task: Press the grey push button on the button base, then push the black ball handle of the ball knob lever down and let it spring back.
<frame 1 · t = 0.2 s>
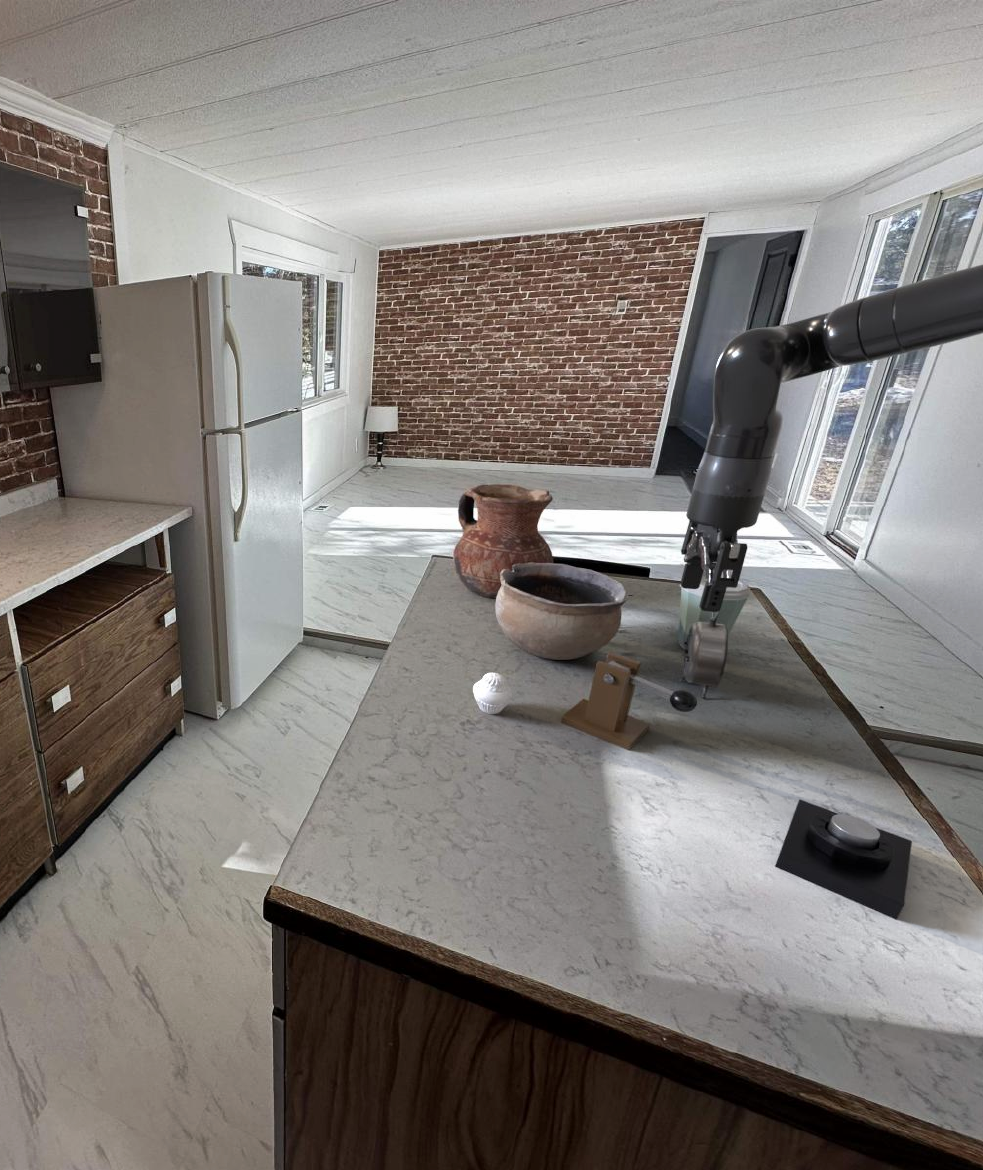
hand: (698, 598, 89), 23 cm above the counter, tool pointing down, fingers open, 8 cm apart
button base: (840, 860, 74), on the counter
disposable coffee cup: (697, 649, 122), on the counter
grey push button: (853, 832, 73), point 4 cm above the counter, slide at 0.1 cm
alarm clock: (693, 686, 110), on the counter
jug: (497, 590, 153), on the counter
ceramic bowl: (548, 650, 125), on the counter
muffin: (489, 710, 107), on the counter
ball knob lever: (649, 686, 94), point 10 cm above the counter, hinge at -6.1°
lever bracket: (604, 726, 101), on the counter
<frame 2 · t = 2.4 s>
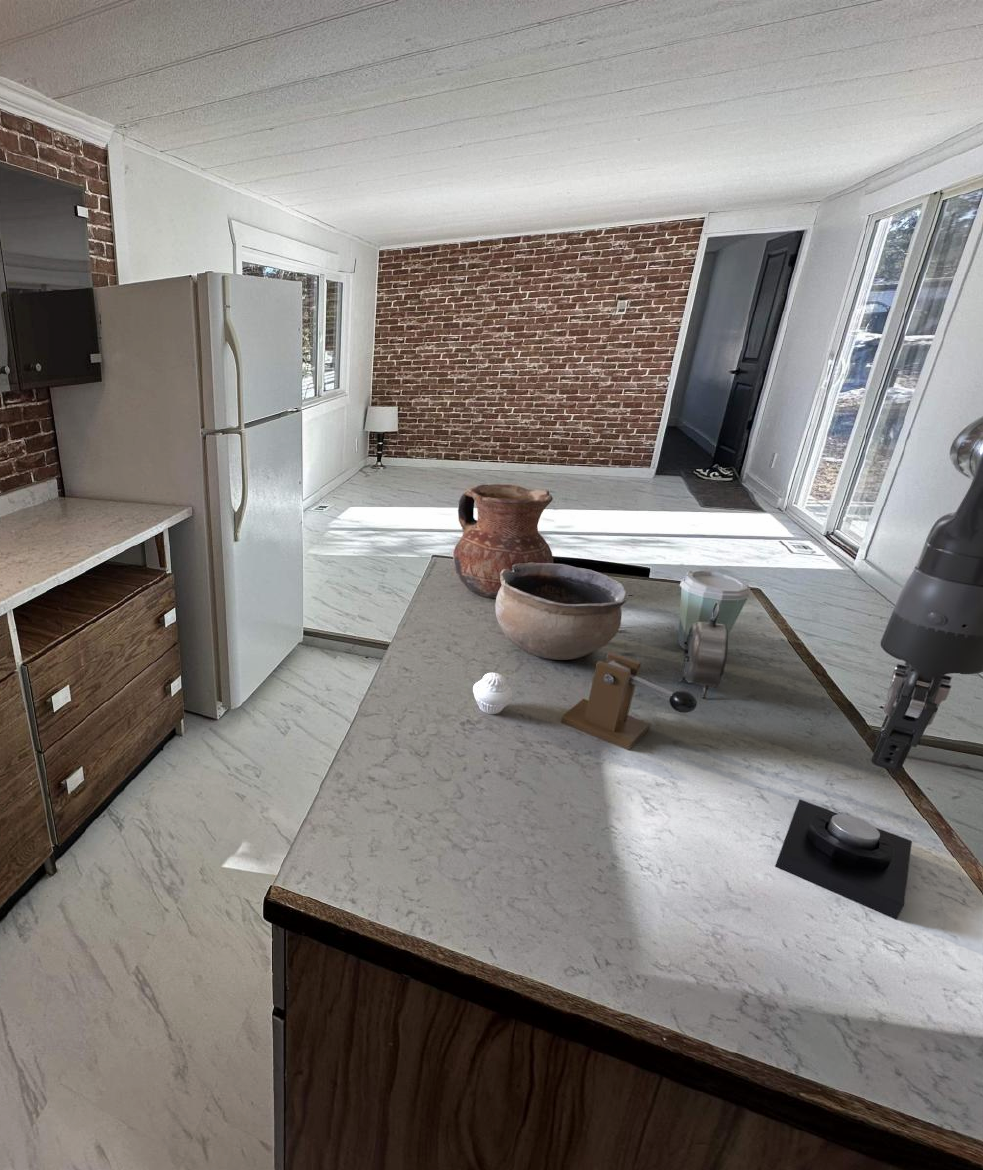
hand: (886, 756, 69), 15 cm above the counter, tool pointing down, fingers open, 4 cm apart
ball knob lever: (649, 686, 94), point 9 cm above the counter, hinge at -7.0°
everything else where it was.
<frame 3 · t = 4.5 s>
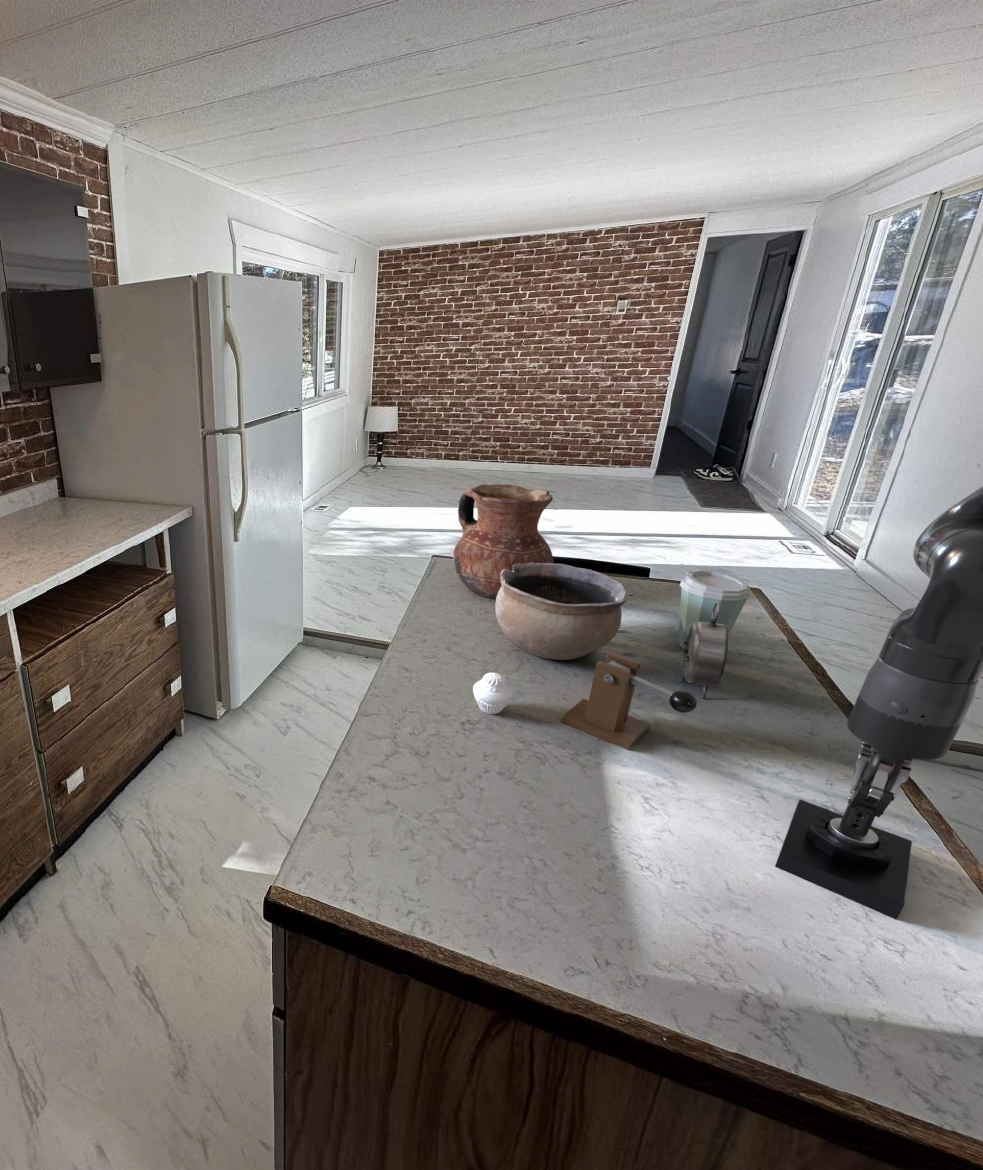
hand: (852, 829, 73), 5 cm above the counter, tool pointing down, fingers closed
grey push button: (851, 835, 73), point 4 cm above the counter, slide at -0.5 cm, touching gripper
everything else where it was.
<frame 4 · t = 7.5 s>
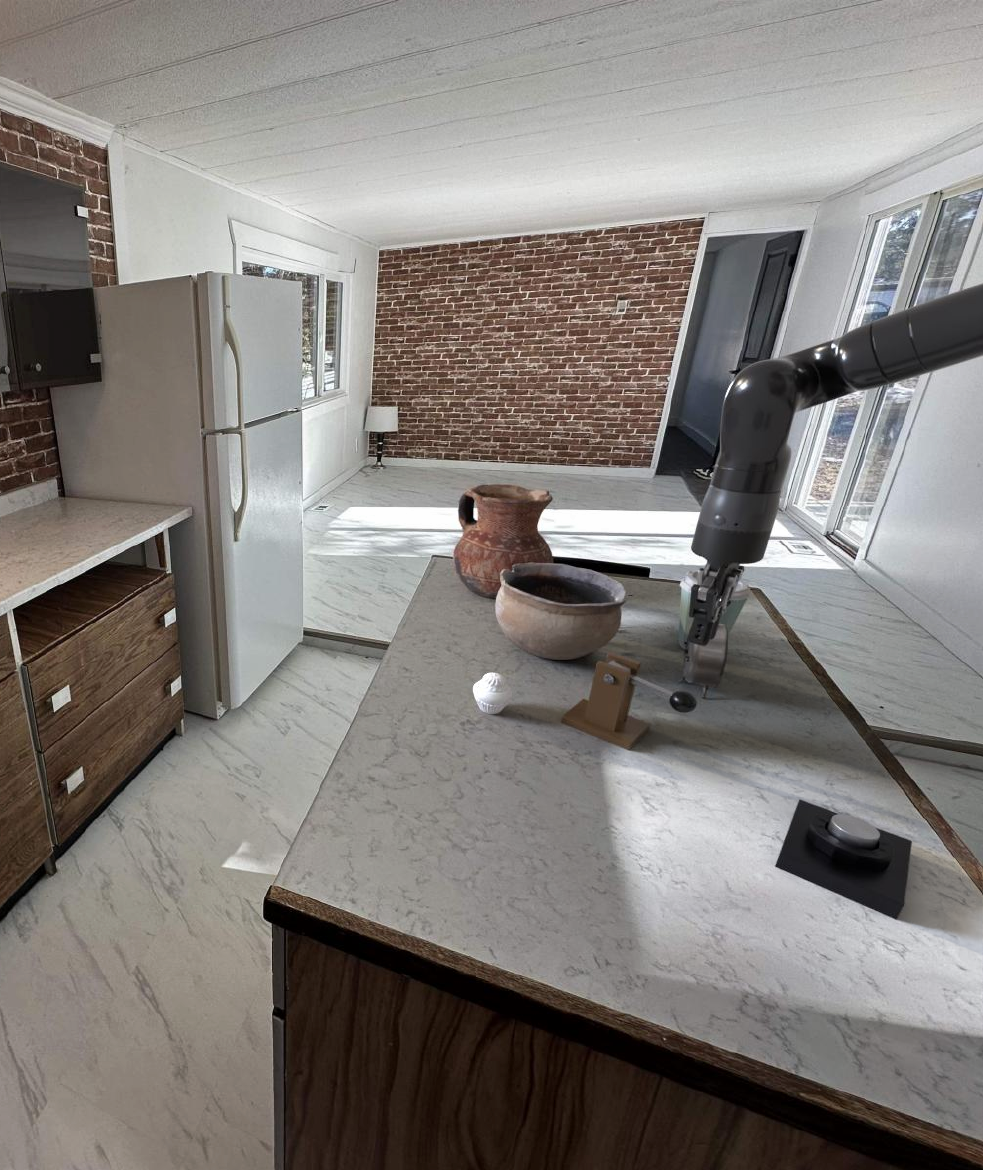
hand: (701, 639, 87), 19 cm above the counter, tool pointing down, fingers closed
grey push button: (853, 832, 73), point 4 cm above the counter, slide at 0.1 cm
everything else where it was.
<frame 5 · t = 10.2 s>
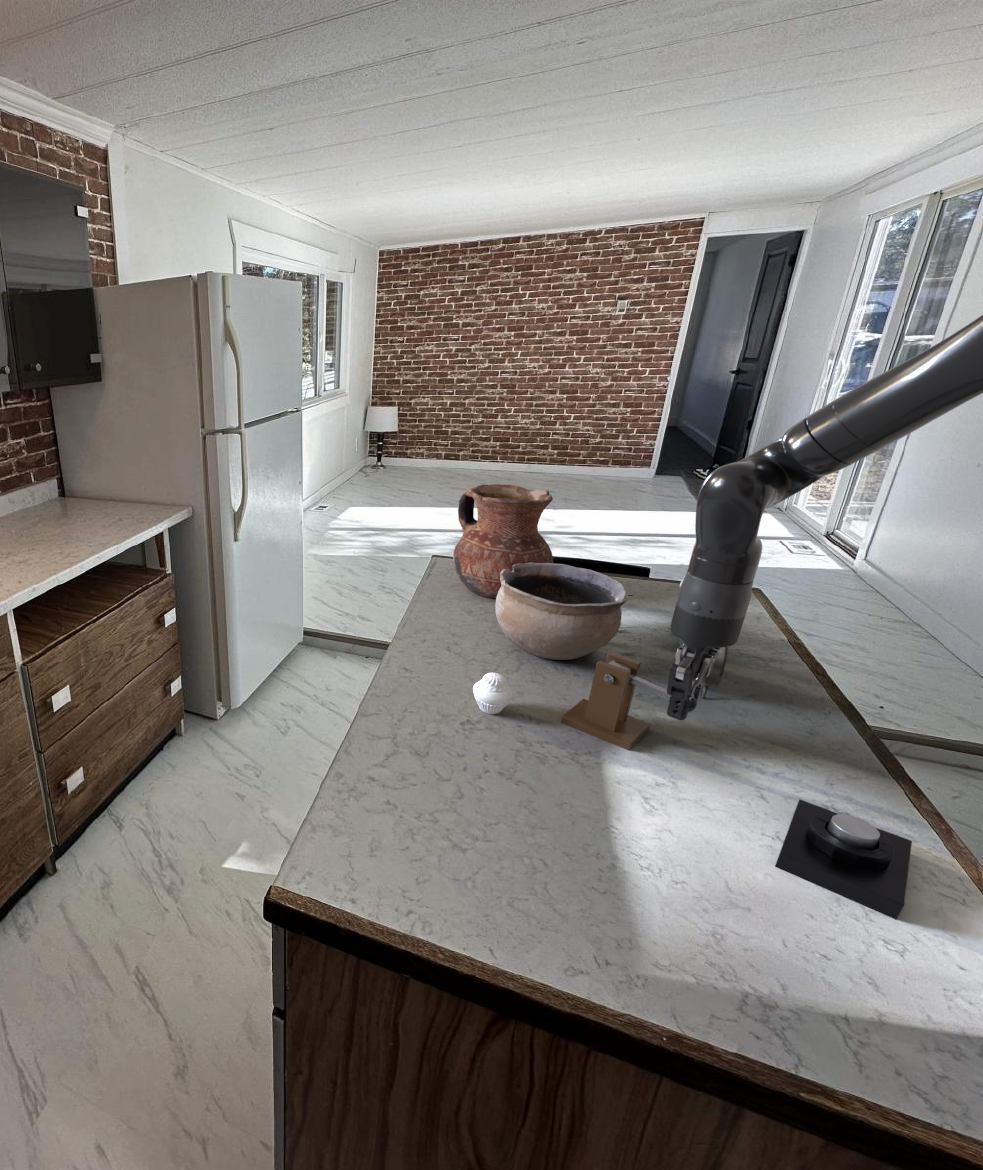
hand: (680, 711, 91), 7 cm above the counter, tool pointing down, fingers closed on ball knob lever, 3 cm apart
ball knob lever: (649, 686, 94), point 9 cm above the counter, hinge at -7.1°, touching gripper
everything else where it was.
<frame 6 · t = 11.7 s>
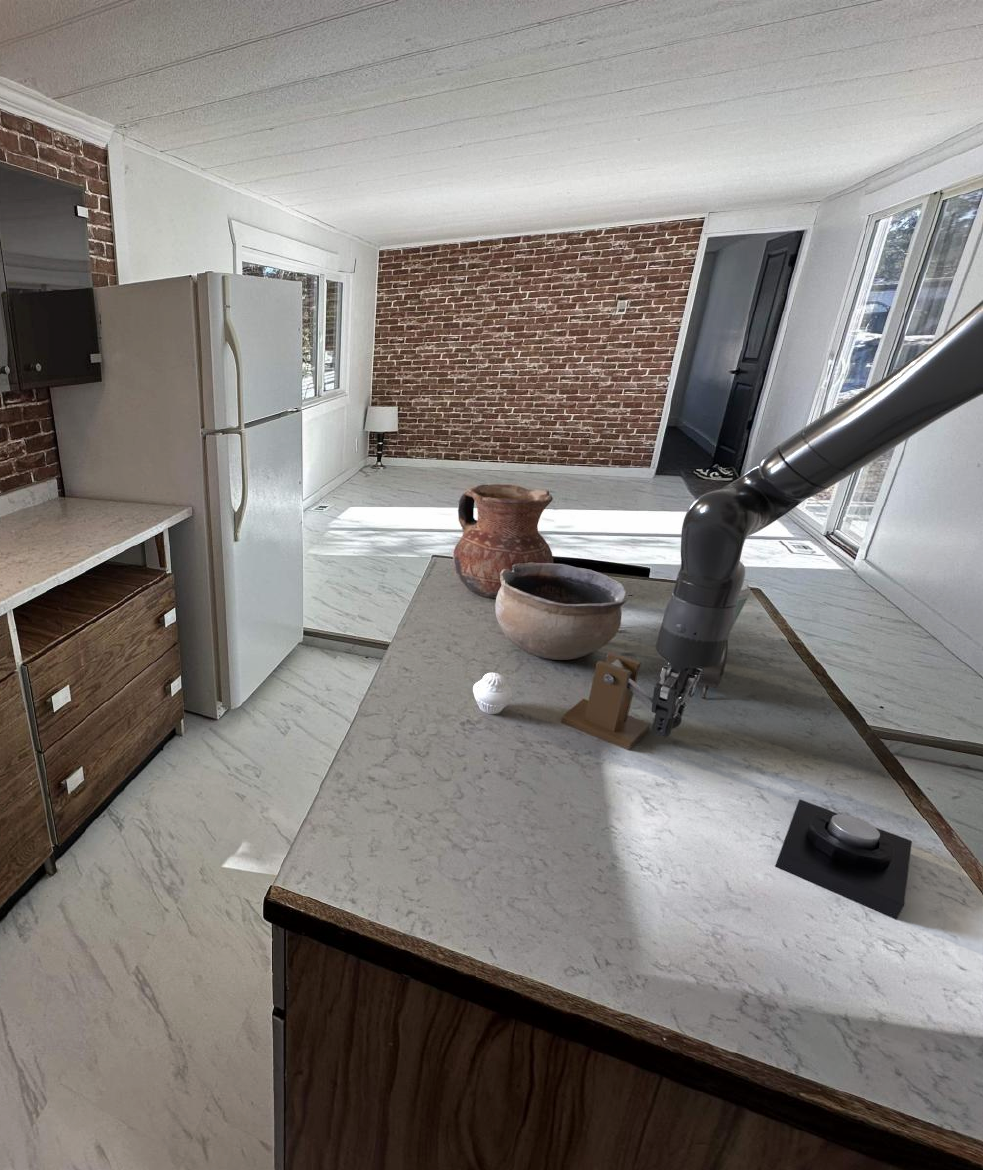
hand: (664, 728, 94), 4 cm above the counter, tool pointing down, fingers closed on ball knob lever, 3 cm apart
ball knob lever: (642, 695, 95), point 8 cm above the counter, hinge at -30.3°, touching gripper
everything else where it was.
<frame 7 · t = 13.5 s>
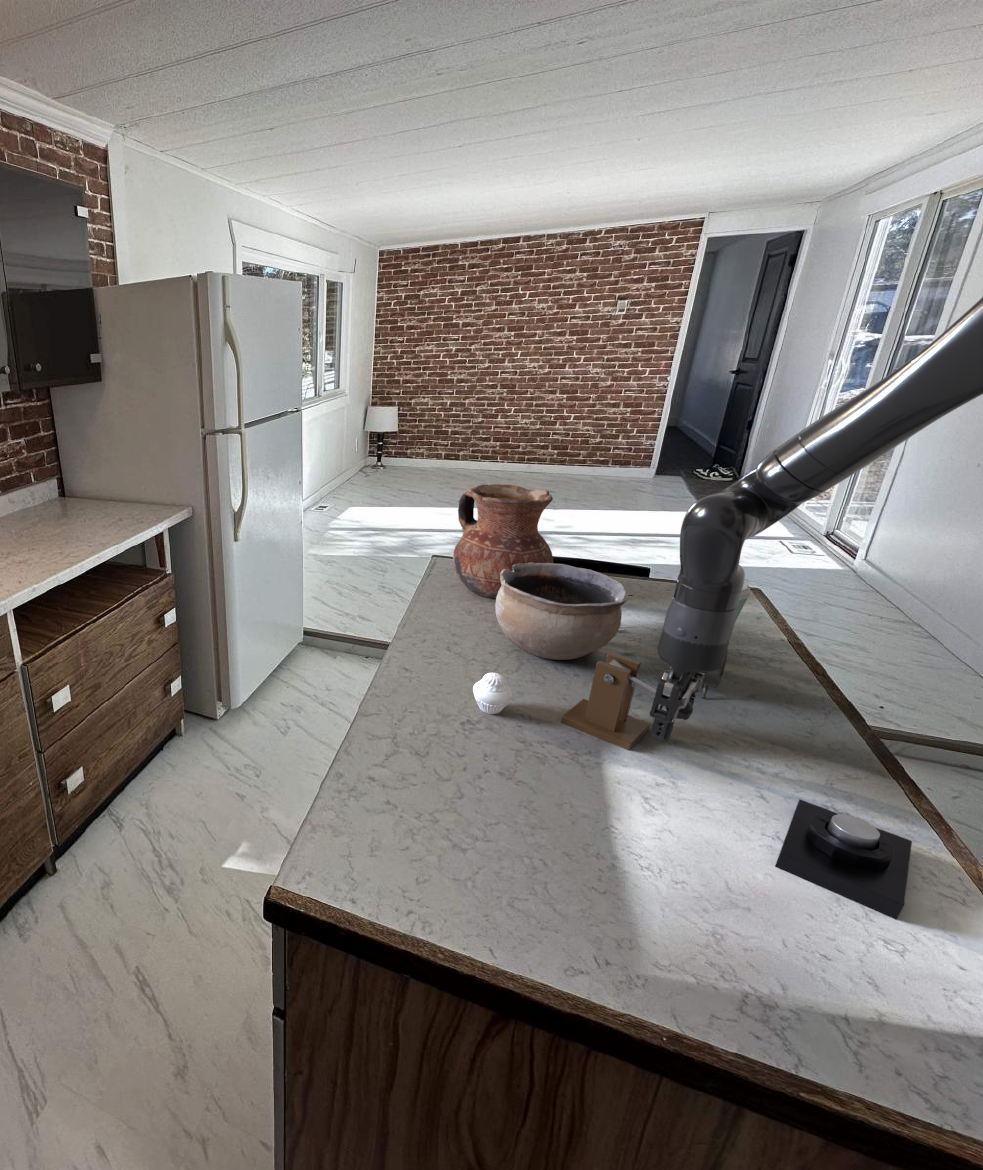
hand: (669, 727, 93), 4 cm above the counter, tool pointing down, fingers open, 8 cm apart
ball knob lever: (647, 690, 94), point 9 cm above the counter, hinge at -14.7°
everything else where it was.
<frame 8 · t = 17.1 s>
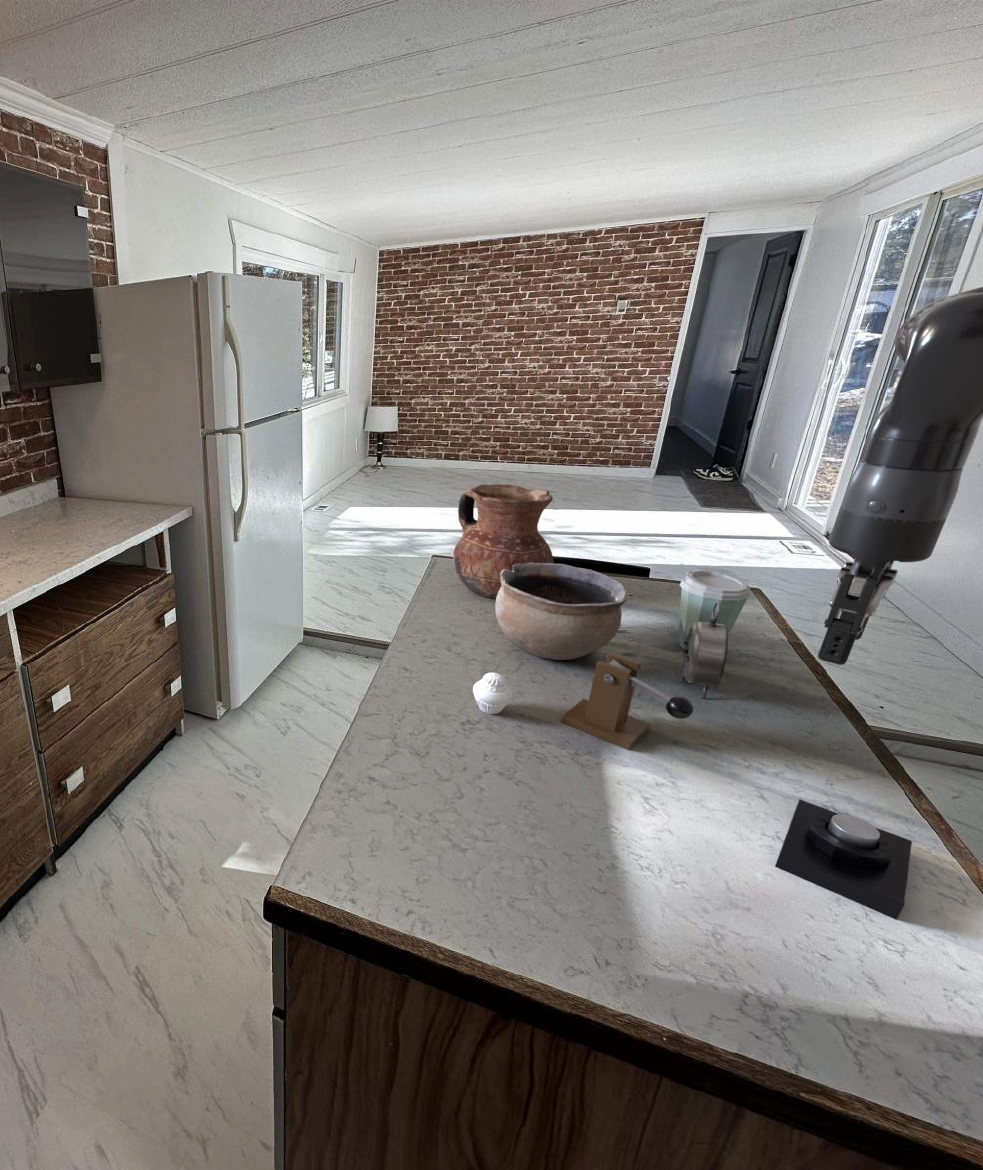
hand: (839, 648, 69), 26 cm above the counter, tool pointing down, fingers open, 8 cm apart
ball knob lever: (647, 689, 94), point 9 cm above the counter, hinge at -14.3°
everything else where it was.
at the end: grey push button pushed in 1.2 cm at the most during the clip, back to where it started at the end; grey push button slide at 0.1 cm; ball knob lever reached -35° during the clip, -14° at the end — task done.
